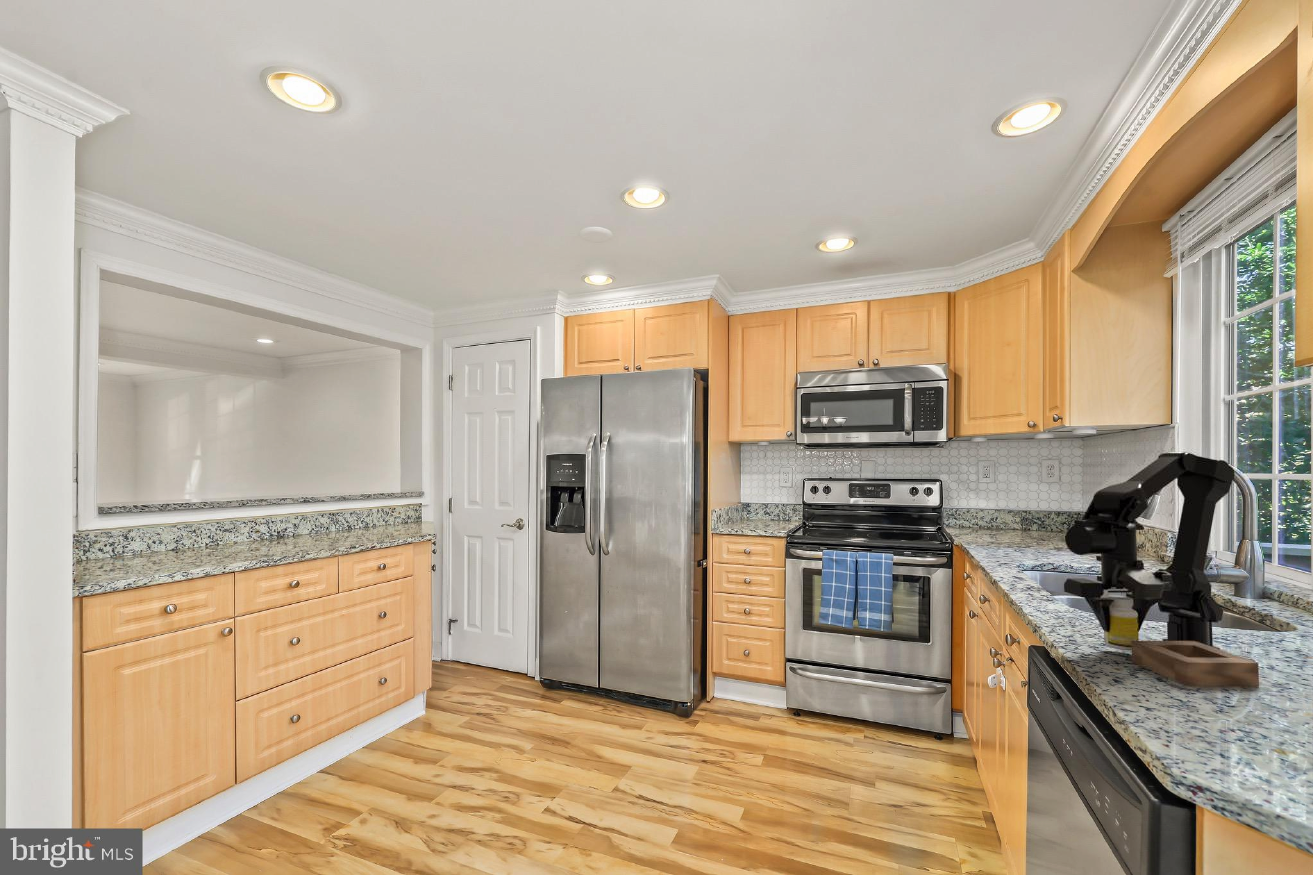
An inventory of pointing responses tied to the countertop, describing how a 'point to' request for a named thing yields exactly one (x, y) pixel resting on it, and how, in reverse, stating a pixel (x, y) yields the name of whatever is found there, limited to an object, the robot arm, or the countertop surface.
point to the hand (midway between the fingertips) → (1121, 631)
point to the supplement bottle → (1122, 624)
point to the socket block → (1195, 663)
